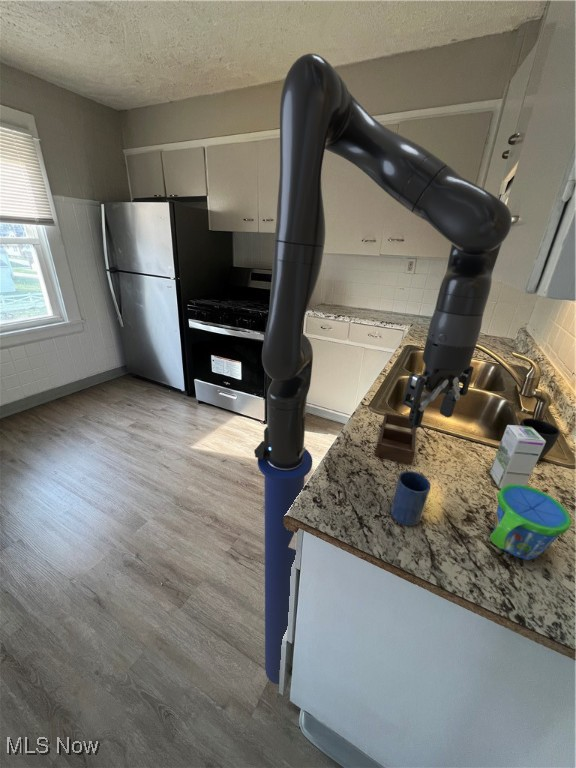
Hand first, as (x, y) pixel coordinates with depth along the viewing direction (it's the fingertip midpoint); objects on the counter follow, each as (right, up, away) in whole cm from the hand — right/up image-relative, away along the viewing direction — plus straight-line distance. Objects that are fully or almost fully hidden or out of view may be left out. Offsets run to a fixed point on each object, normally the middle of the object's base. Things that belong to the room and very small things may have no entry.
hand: (429, 420), depth 59 cm
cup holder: (+4, -10, +30) cm, 32 cm away
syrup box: (+26, -17, +17) cm, 35 cm away
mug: (+37, -13, +26) cm, 47 cm away
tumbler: (-2, -21, +7) cm, 22 cm away
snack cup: (+17, -24, +1) cm, 29 cm away
